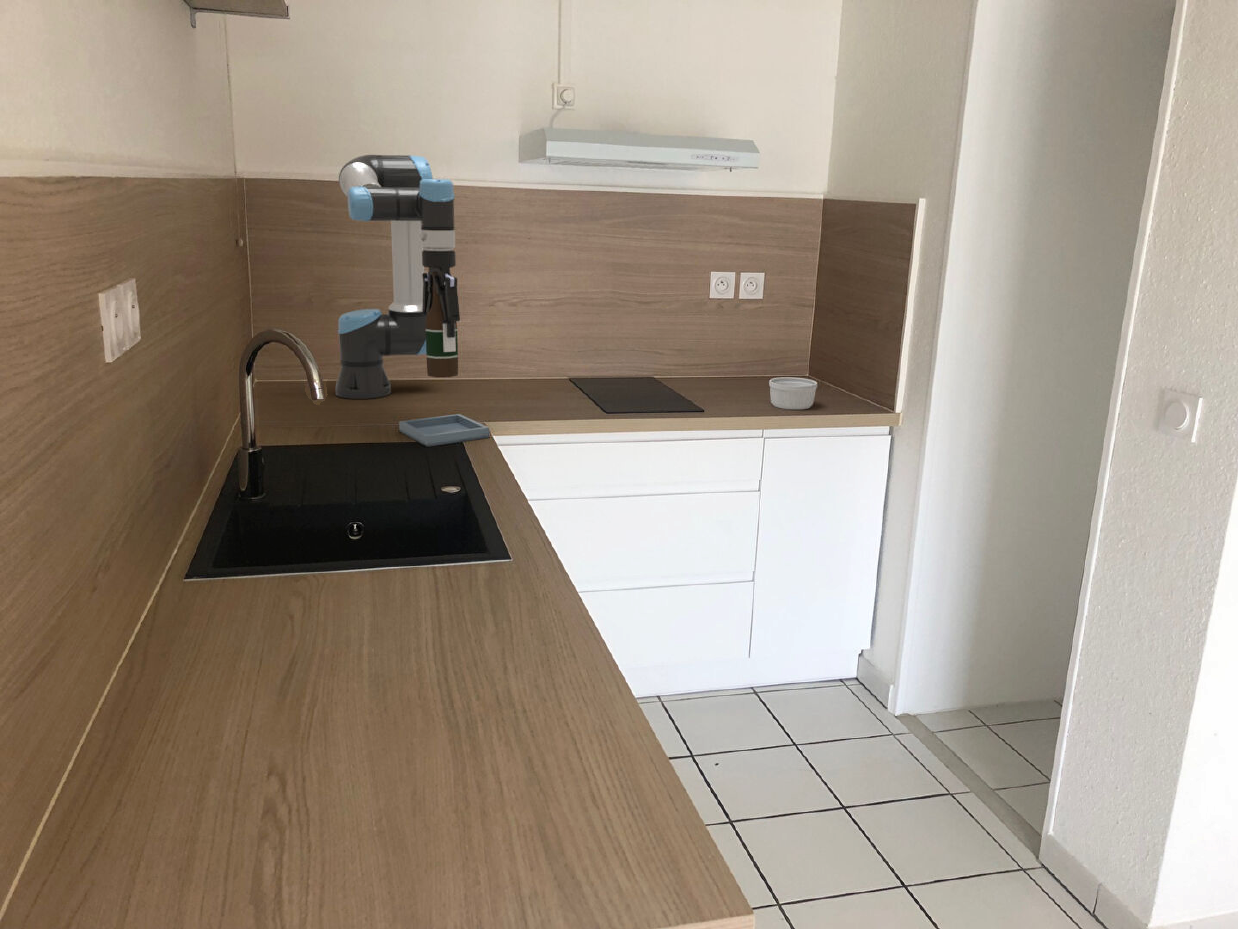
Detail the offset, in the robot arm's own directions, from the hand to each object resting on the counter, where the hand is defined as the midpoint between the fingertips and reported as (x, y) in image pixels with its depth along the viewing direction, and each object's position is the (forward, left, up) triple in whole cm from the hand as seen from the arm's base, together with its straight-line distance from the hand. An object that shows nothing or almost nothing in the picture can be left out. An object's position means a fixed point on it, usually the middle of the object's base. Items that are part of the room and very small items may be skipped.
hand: (441, 348), depth 229 cm
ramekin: (+19, +97, -21) cm, 101 cm away
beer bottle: (0, 0, -6) cm, 6 cm away
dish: (0, 0, -21) cm, 21 cm away
